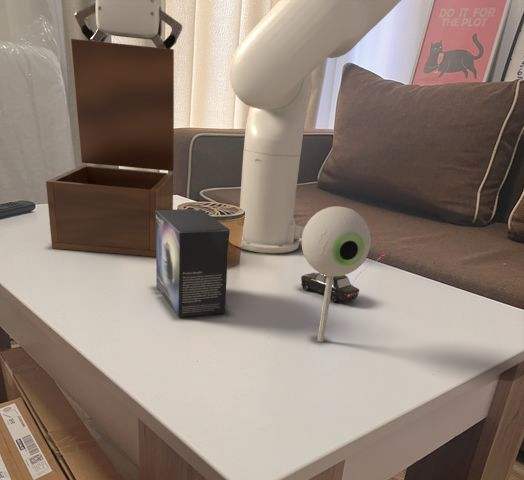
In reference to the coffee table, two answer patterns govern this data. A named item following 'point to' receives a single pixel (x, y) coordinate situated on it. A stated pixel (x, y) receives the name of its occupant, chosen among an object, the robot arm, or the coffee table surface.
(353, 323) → the coffee table surface
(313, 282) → the toy car
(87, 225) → the chest
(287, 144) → the robot arm
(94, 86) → the lid
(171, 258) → the small box
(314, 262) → the lollipop
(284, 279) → the coffee table surface
